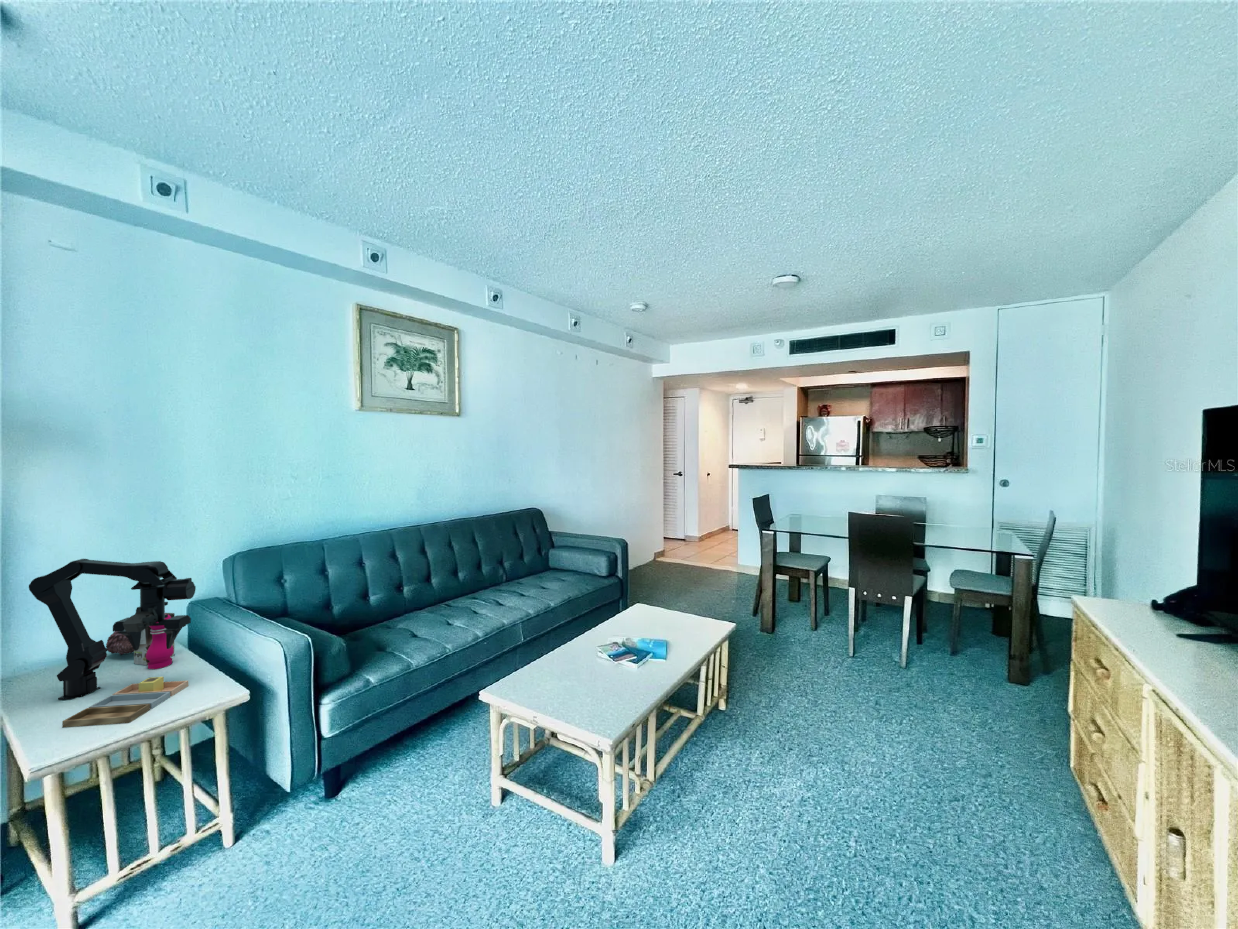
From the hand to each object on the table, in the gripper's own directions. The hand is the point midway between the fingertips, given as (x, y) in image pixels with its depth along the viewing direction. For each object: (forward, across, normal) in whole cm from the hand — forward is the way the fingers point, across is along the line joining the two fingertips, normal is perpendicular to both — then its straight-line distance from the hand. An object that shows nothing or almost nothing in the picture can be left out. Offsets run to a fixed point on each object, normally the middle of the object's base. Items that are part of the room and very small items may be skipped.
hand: (152, 649), depth 154 cm
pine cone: (+12, -30, +29) cm, 43 cm away
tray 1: (+12, +4, -21) cm, 24 cm away
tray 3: (+12, +4, -6) cm, 14 cm away
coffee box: (+12, -16, +23) cm, 31 cm away
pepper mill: (+12, -10, +17) cm, 23 cm away
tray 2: (+12, +4, -14) cm, 18 cm away
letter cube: (+12, +4, -6) cm, 14 cm away
